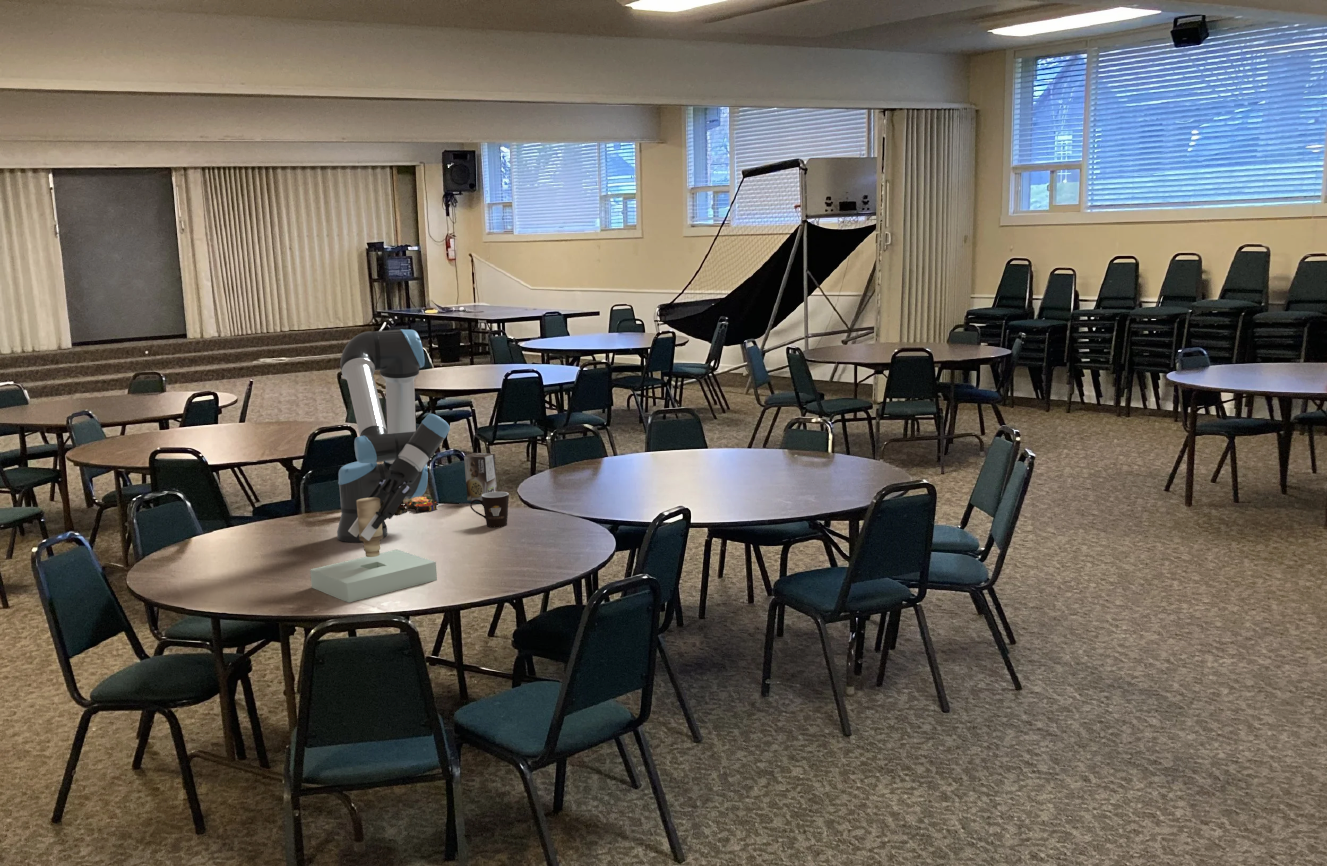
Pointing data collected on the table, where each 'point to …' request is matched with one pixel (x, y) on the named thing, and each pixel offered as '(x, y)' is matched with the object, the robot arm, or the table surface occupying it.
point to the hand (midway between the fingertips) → (358, 535)
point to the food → (417, 505)
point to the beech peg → (365, 514)
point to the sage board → (373, 575)
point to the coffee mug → (494, 508)
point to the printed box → (480, 475)
